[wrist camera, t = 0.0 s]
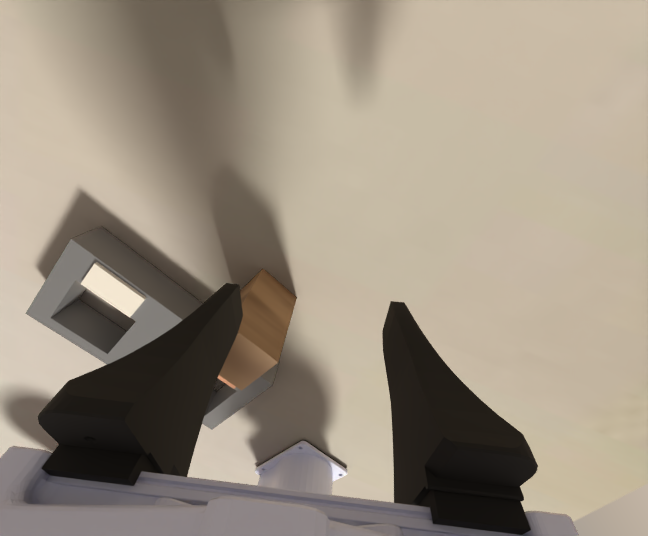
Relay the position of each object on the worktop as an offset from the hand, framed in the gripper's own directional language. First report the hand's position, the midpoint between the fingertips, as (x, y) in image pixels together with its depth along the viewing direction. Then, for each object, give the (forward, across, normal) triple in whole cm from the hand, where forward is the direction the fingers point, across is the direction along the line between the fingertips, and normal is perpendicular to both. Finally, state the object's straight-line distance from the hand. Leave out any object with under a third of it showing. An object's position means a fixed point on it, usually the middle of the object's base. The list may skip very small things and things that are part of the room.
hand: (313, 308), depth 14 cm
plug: (+9, +5, +8) cm, 13 cm away
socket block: (+8, +14, +13) cm, 21 cm away
